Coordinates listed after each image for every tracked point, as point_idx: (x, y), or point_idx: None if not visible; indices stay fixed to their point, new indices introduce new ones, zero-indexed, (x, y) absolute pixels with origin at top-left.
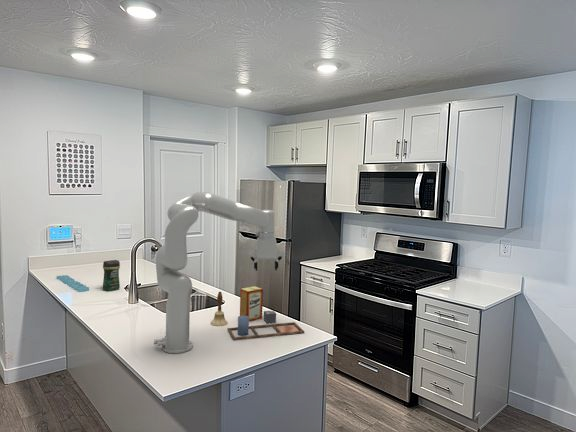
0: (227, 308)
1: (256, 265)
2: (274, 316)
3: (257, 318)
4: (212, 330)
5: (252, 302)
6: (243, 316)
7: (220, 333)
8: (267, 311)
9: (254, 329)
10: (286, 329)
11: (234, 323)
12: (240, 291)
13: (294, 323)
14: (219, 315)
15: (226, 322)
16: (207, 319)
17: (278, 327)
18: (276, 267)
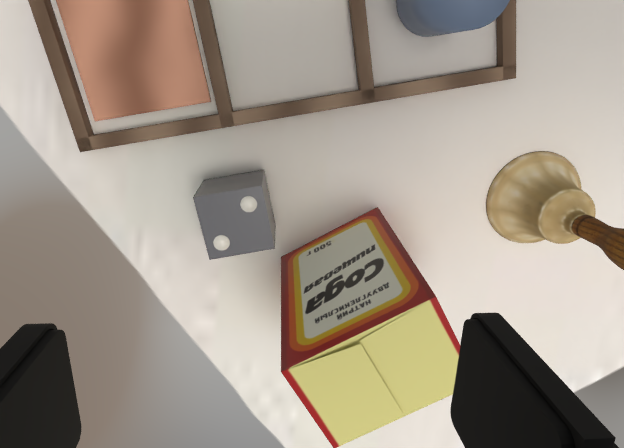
0: (448, 414)
1: (547, 381)
2: (208, 189)
3: (310, 245)
4: (591, 83)
5: (363, 272)
6: (468, 1)
7: (558, 26)
8: (250, 239)
9: (356, 36)
10: (143, 45)
11: (449, 188)
12: None
13: (81, 125)
14: (569, 186)
15: (498, 187)
16: (581, 260)
17: (194, 88)
18: (6, 357)
